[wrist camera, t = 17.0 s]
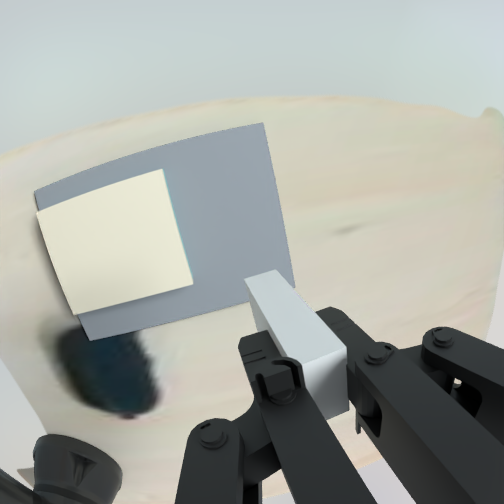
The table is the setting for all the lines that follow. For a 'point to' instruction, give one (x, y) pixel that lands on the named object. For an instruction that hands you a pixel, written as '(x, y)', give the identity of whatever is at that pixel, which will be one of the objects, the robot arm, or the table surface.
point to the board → (116, 243)
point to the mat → (198, 223)
